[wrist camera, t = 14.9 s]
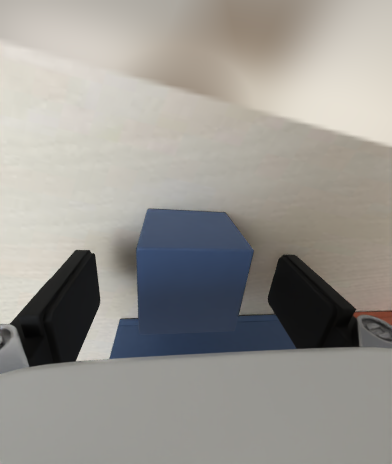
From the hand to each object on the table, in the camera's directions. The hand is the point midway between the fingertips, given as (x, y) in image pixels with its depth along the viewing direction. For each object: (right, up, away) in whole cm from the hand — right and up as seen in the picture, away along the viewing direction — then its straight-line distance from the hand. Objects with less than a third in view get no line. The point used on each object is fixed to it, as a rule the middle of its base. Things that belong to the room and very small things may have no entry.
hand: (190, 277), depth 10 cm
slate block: (0, +2, +2) cm, 2 cm away
